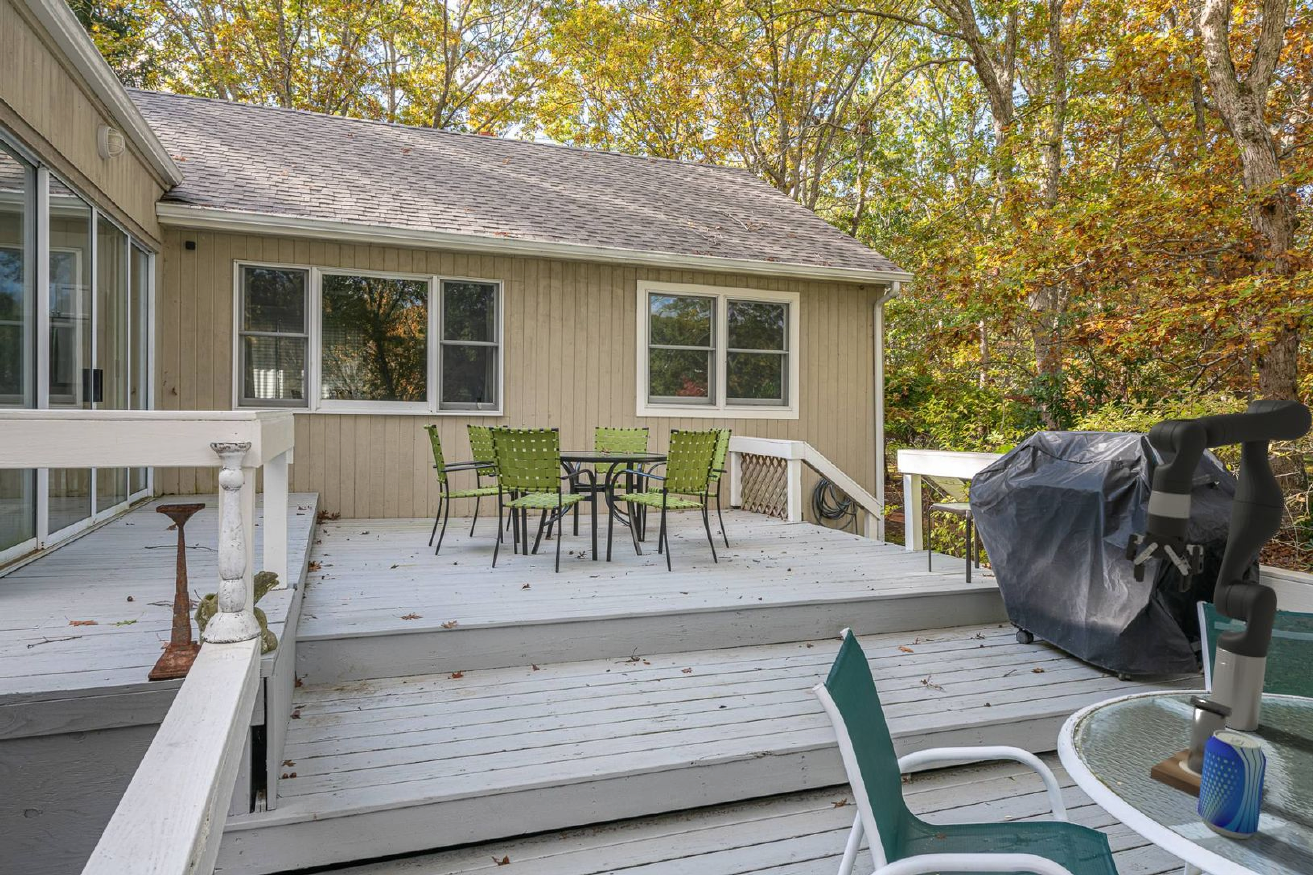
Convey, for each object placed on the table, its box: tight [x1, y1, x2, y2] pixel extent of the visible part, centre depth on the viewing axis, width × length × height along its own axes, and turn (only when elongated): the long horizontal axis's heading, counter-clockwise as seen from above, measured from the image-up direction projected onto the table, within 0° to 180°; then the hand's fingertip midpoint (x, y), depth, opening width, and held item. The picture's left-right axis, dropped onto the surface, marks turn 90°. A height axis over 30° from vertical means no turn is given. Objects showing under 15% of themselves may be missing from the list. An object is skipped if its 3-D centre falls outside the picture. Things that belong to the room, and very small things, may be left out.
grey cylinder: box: [1187, 694, 1232, 775], centre depth 149 cm, size 5×6×14 cm
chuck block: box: [1149, 748, 1202, 799], centre depth 150 cm, size 16×12×2 cm
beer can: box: [1197, 729, 1267, 840], centre depth 133 cm, size 8×8×16 cm
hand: (1160, 586), depth 168 cm, fingers open, 8 cm apart
